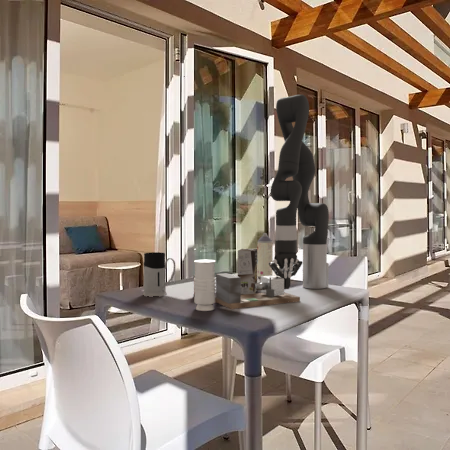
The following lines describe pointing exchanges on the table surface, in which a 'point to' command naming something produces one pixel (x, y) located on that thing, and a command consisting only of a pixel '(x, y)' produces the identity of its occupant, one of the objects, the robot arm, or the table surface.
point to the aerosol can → (264, 256)
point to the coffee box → (247, 270)
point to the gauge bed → (232, 298)
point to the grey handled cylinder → (155, 274)
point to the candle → (204, 284)
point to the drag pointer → (270, 291)
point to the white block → (276, 284)
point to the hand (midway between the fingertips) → (285, 288)
